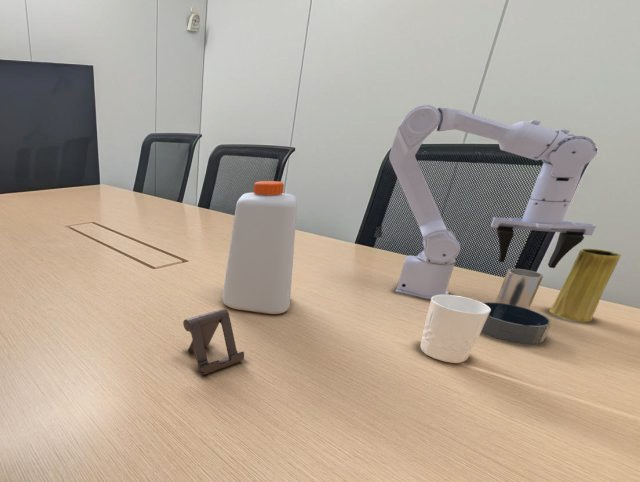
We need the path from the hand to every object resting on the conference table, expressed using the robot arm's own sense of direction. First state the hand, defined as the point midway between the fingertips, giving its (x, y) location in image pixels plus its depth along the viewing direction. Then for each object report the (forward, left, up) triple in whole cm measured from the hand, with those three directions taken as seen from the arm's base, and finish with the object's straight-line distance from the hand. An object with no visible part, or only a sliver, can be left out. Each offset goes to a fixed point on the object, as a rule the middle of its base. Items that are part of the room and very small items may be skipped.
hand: (525, 263), depth 80 cm
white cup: (-7, -33, -11) cm, 36 cm away
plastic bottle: (-43, -35, -11) cm, 56 cm away
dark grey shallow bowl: (0, -15, -10) cm, 18 cm away
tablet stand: (-36, -64, -11) cm, 74 cm away
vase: (+9, +3, -11) cm, 14 cm away
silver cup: (0, -2, -10) cm, 11 cm away
